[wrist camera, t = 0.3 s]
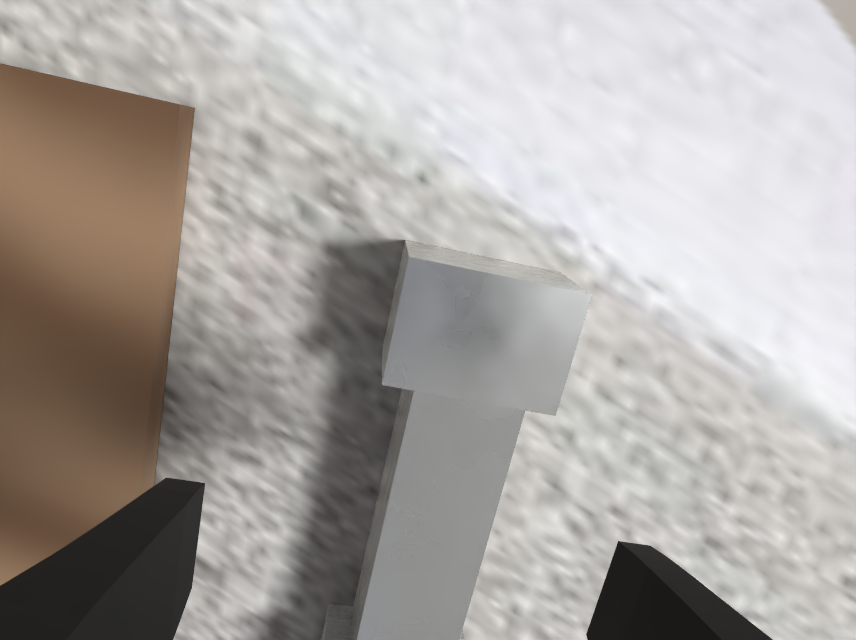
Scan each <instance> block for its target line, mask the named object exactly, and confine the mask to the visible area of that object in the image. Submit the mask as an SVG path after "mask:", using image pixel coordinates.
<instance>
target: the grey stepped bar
mask: <svg viewBox="0 0 856 640" xmlns="http://www.w3.org/2000/svg"><path fill="white" fill-rule="evenodd" d="M591 297H592V294H591V293H589V292H588V291H586V290H585V289H583V288H582V287H581V286H579V285H578V284H576V283H575V282H573V281H572V280H570V279H569V278H567V277H566V276H565V275H563V274H562V273H560V272H556V271H551V270H546V269H541V268H537V267H532V266H527V265H522V264H518V263H513V262H508V261H503V260H499V259H494V258H489V257H484V256H480V255H475V254H470V253H465V252H460V251H456V250H451V249H446V248H441V247H437V246H432V245H427V244H422V243H418V242H413V241H408V240H405V243H404V248H403V253H402V258H401V262H400V267H399V272H398V277H397V281H396V286H395V291H394V296H393V300H392V305H391V310H390V315H389V319H388V324H387V329H386V334H385V338H384V343H383V348H382V385H384V386H390V387H395V388H401V389H402V391H401V395H400V400H399V404H398V409H397V413H396V417H395V422H394V426H393V431H392V435H391V440H390V444H389V449H388V453H387V458H386V462H385V467H384V471H383V475H382V480H381V484H380V489H379V493H378V498H377V502H376V507H375V511H374V516H373V520H372V525H371V529H370V533H369V538H368V542H367V547H366V551H365V556H364V560H363V565H362V569H361V574H360V578H359V583H358V587H357V592H356V596H355V600H354V605H353V606H346V605H338V604H330V603H329V605H328V610H327V614H326V619H325V624H324V629H323V633H322V638H321V640H464V636H463V630H462V628H463V625H464V621H465V618H466V614H467V611H468V608H469V604H470V601H471V597H472V594H473V590H474V587H475V583H476V580H477V576H478V573H479V569H480V566H481V562H482V559H483V555H484V552H485V548H486V545H487V541H488V538H489V535H490V531H491V528H492V524H493V521H494V517H495V514H496V510H497V507H498V503H499V500H500V496H501V493H502V489H503V486H504V482H505V479H506V475H507V472H508V468H509V465H510V462H511V458H512V455H513V451H514V448H515V444H516V441H517V437H518V434H519V430H520V427H521V423H522V420H523V416H524V413H525V410H526V411H532V412H537V413H543V414H549V415H554V416H556V412H557V409H558V406H559V402H560V399H561V396H562V393H563V389H564V386H565V383H566V379H567V376H568V373H569V370H570V366H571V363H572V360H573V356H574V353H575V350H576V346H577V343H578V340H579V337H580V333H581V330H582V327H583V323H584V320H585V317H586V314H587V310H588V307H589V304H590V300H591Z"/></svg>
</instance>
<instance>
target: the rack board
mask: <svg viewBox="0 0 856 640" xmlns="http://www.w3.org/2000/svg"><path fill="white" fill-rule="evenodd" d="M194 110H195V108H192V107H188V106H184V105H179V104H175V103H171V102H166V101H162V100H157V99H153V98H149V97H144V96H140V95H136V94H131V93H127V92H123V91H118V90H114V89H109V88H105V87H101V86H96V85H92V84H88V83H83V82H79V81H75V80H70V79H66V78H61V77H57V76H53V75H48V74H44V73H40V72H35V71H31V70H27V69H22V68H18V67H13V66H9V65H5V64H0V585H2V584H4V583H5V582H7V581H9V580H10V579H12V578H14V577H15V576H17V575H19V574H20V573H22V572H24V571H25V570H27V569H29V568H30V567H32V566H34V565H35V564H37V563H39V562H40V561H42V560H44V559H45V558H47V557H49V556H50V555H52V554H54V553H55V552H57V551H58V550H60V549H61V548H63V547H64V546H66V545H68V544H69V543H71V542H72V541H74V540H75V539H77V538H78V537H80V536H81V535H83V534H84V533H86V532H87V531H89V530H90V529H92V528H93V527H95V526H96V525H98V524H99V523H101V522H102V521H104V520H105V519H107V518H108V517H110V516H111V515H113V514H114V513H115V512H117V511H118V510H120V509H121V508H123V507H124V506H126V505H127V504H128V503H130V502H131V501H133V500H134V499H136V498H137V497H139V496H140V495H141V494H143V493H144V492H146V491H147V490H149V489H150V488H152V487H153V486H154V482H155V473H156V464H157V455H158V445H159V436H160V427H161V417H162V408H163V399H164V389H165V380H166V371H167V361H168V352H169V343H170V333H171V324H172V315H173V305H174V296H175V287H176V278H177V268H178V259H179V250H180V240H181V231H182V222H183V212H184V203H185V194H186V184H187V175H188V166H189V156H190V147H191V138H192V128H193V119H194Z"/></svg>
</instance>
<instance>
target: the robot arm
mask: <svg viewBox="0 0 856 640" xmlns="http://www.w3.org/2000/svg"><path fill="white" fill-rule="evenodd" d="M204 487H205V483H200V482H193V481H186V480H179V479H172V478H165V479H164V480H162V481H161V482H159V483H158V484H156V485H155V486H153V487H152V488H150V489H149V490H147V491H146V492H144V493H143V494H141V495H140V496H139V497H137V498H136V499H134V500H133V501H131V502H130V503H128V504H127V505H126V506H124V507H123V508H121V509H120V510H118V511H117V512H115V513H114V514H113V515H111V516H110V517H108V518H107V519H105V520H104V521H102V522H101V523H99V524H98V525H96V526H95V527H93V528H92V529H90V530H89V531H87V532H86V533H84V534H83V535H81V536H80V537H78V538H77V539H75V540H74V541H72V542H71V543H69V544H68V545H66V546H64V547H63V548H61V549H60V550H58V551H57V552H55V553H54V554H52V555H50V556H49V557H47V558H45V559H44V560H42V561H40V562H39V563H37V564H35V565H34V566H32V567H30V568H29V569H27V570H25V571H24V572H22V573H20V574H19V575H17V576H15V577H14V578H12V579H10V580H9V581H7V582H5V583H4V584H2V585H0V640H173V638H174V635H175V633H176V630H177V627H178V625H179V622H180V619H181V616H182V614H183V611H184V608H185V605H186V603H187V600H188V597H189V594H190V591H191V589H192V582H193V574H194V566H195V558H196V550H197V542H198V534H199V526H200V519H201V511H202V503H203V495H204ZM586 635H587V639H588V640H772V639H771V638H770V637H769V636H767V635H766V634H765V633H763V632H762V631H761V630H760V629H758V628H757V627H756V626H754V625H753V624H752V623H751V622H749V621H748V620H747V619H746V618H744V617H743V616H742V615H740V614H739V613H738V612H737V611H735V610H734V609H733V608H732V607H730V606H729V605H728V604H727V603H725V602H724V601H723V600H722V599H720V598H719V597H718V596H717V595H715V594H714V593H713V592H712V591H710V590H709V589H708V588H707V587H705V586H704V585H703V584H702V583H700V582H699V581H698V580H696V579H695V578H694V577H693V576H691V575H690V574H689V573H687V572H686V571H685V570H684V569H682V568H681V567H680V566H678V565H677V564H676V563H674V562H673V561H672V560H670V559H669V558H668V557H666V556H665V555H663V554H662V553H660V552H659V551H657V550H656V549H654V548H653V547H651V546H648V545H641V544H634V543H627V542H620V541H618V544H617V547H616V550H615V553H614V556H613V558H612V561H611V564H610V567H609V570H608V573H607V576H606V579H605V582H604V585H603V588H602V591H601V593H600V596H599V599H598V602H597V605H596V608H595V611H594V614H593V617H592V620H591V623H590V626H589V628H588V631H587V634H586Z"/></svg>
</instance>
